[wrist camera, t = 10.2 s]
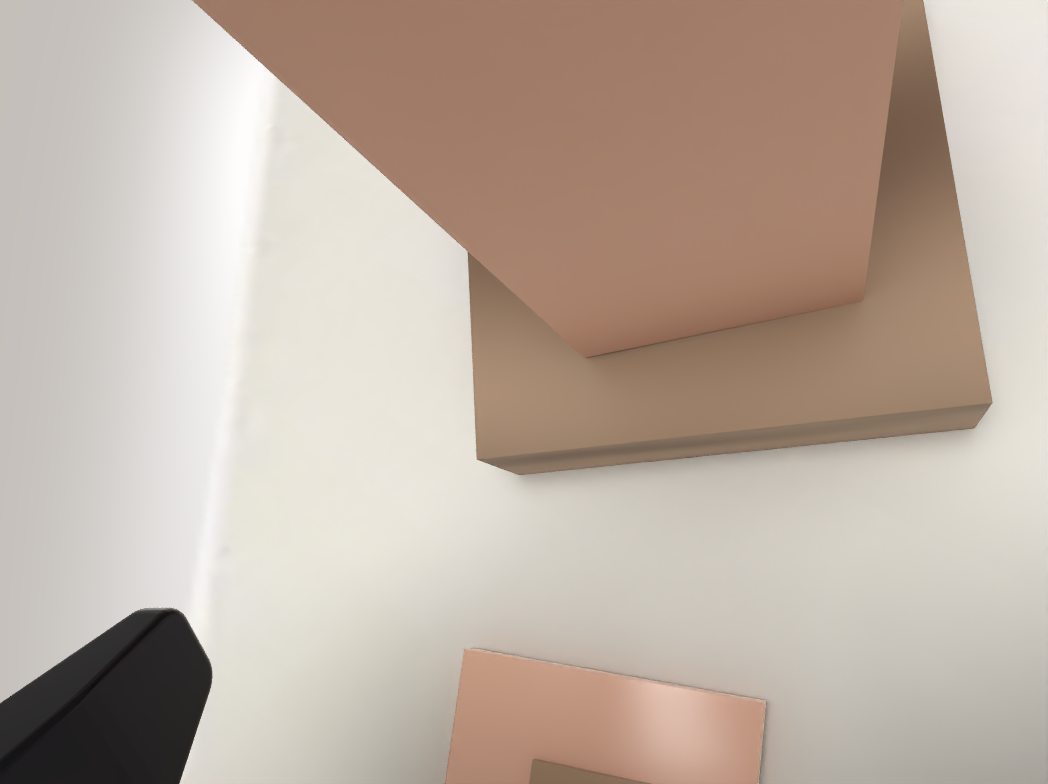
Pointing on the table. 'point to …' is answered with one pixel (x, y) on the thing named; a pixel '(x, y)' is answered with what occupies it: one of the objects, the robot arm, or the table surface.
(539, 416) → the walnut slab
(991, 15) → the table surface
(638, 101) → the terracotta block
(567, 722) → the tile
